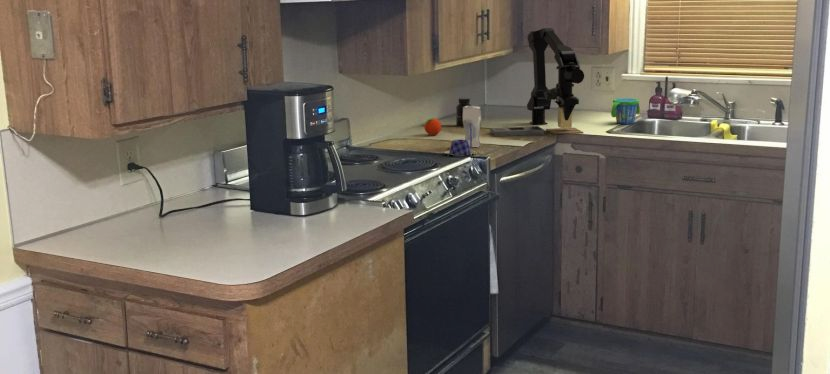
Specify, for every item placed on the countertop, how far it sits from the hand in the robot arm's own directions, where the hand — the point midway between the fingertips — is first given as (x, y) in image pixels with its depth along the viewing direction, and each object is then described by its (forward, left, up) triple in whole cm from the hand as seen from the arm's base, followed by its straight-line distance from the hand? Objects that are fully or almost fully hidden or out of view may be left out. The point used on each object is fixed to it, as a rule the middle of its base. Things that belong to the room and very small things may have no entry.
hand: (564, 119), depth 371 cm
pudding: (+39, -50, -6) cm, 64 cm away
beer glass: (+25, -43, -5) cm, 50 cm away
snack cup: (-15, +31, -5) cm, 35 cm away
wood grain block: (0, 0, -3) cm, 3 cm away
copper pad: (0, 0, -5) cm, 5 cm away
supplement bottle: (-26, -37, -5) cm, 46 cm away
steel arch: (0, -20, -5) cm, 21 cm away
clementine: (-5, -54, -5) cm, 54 cm away
